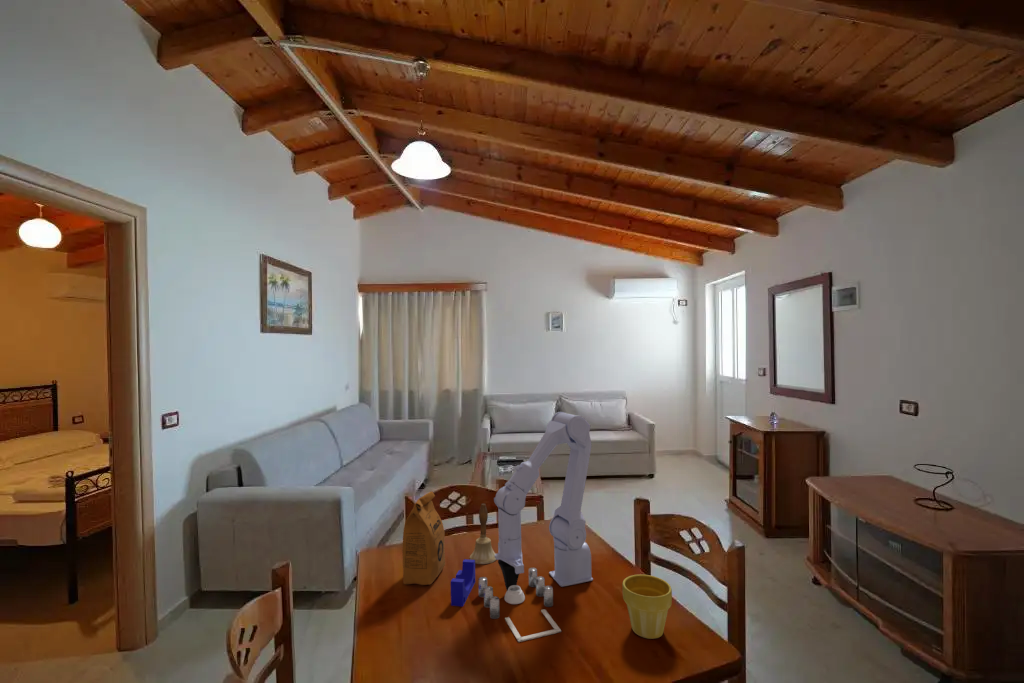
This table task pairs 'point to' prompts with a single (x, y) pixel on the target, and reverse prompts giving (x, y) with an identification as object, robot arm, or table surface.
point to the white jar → (514, 595)
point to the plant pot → (647, 604)
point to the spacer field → (534, 581)
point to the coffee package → (423, 543)
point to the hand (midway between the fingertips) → (510, 589)
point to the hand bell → (483, 542)
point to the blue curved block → (463, 583)
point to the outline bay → (520, 639)
